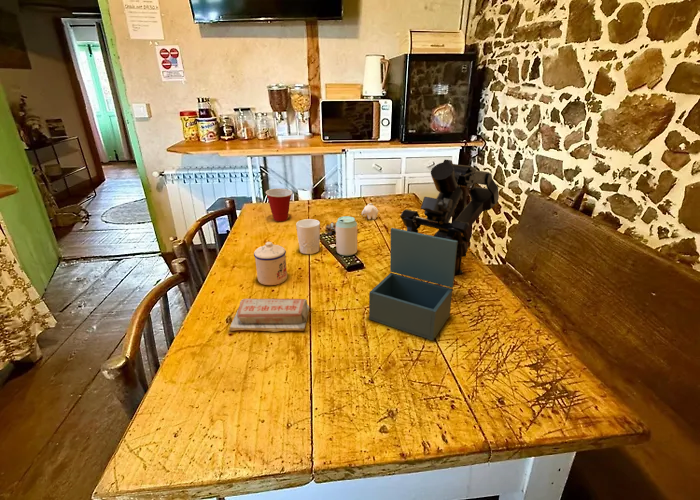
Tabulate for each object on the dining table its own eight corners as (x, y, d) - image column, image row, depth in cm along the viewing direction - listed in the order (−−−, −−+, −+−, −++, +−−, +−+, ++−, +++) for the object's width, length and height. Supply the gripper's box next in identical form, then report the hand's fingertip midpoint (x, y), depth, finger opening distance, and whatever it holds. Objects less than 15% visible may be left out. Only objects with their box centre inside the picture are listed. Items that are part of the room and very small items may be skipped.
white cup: (293, 253, 134) (291, 225, 129) (304, 244, 140) (303, 217, 136) (314, 256, 131) (313, 228, 127) (324, 247, 138) (323, 220, 133)
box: (432, 340, 90) (435, 311, 86) (369, 319, 98) (369, 292, 94) (449, 315, 99) (452, 288, 95) (390, 298, 107) (390, 272, 103)
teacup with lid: (283, 286, 113) (280, 249, 108) (252, 285, 114) (248, 248, 109) (293, 267, 124) (290, 233, 119) (265, 266, 125) (261, 232, 120)
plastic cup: (292, 223, 159) (290, 195, 154) (265, 223, 159) (262, 195, 154) (296, 214, 169) (294, 187, 164) (271, 214, 169) (268, 187, 164)
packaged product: (308, 292, 100) (303, 315, 91) (309, 309, 102) (305, 332, 93) (238, 292, 101) (226, 314, 92) (241, 308, 103) (229, 331, 94)
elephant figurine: (362, 215, 167) (362, 201, 165) (380, 216, 166) (381, 202, 164) (360, 220, 161) (360, 207, 159) (379, 221, 160) (380, 207, 158)
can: (350, 258, 129) (349, 224, 124) (332, 254, 133) (331, 220, 128) (361, 250, 135) (361, 217, 130) (343, 246, 138) (343, 214, 133)
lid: (456, 242, 89) (457, 240, 90) (390, 228, 97) (392, 227, 98) (452, 287, 95) (453, 286, 95) (390, 271, 103) (391, 270, 103)
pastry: (356, 235, 147) (356, 226, 146) (324, 235, 148) (324, 226, 146) (356, 228, 154) (356, 219, 152) (325, 228, 154) (325, 219, 153)
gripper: (407, 179, 105) (381, 227, 101) (474, 190, 95) (449, 244, 90) (418, 203, 114) (394, 249, 109) (481, 216, 103) (458, 267, 99)
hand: (421, 251), depth 102 cm, fingers open, 9 cm apart
